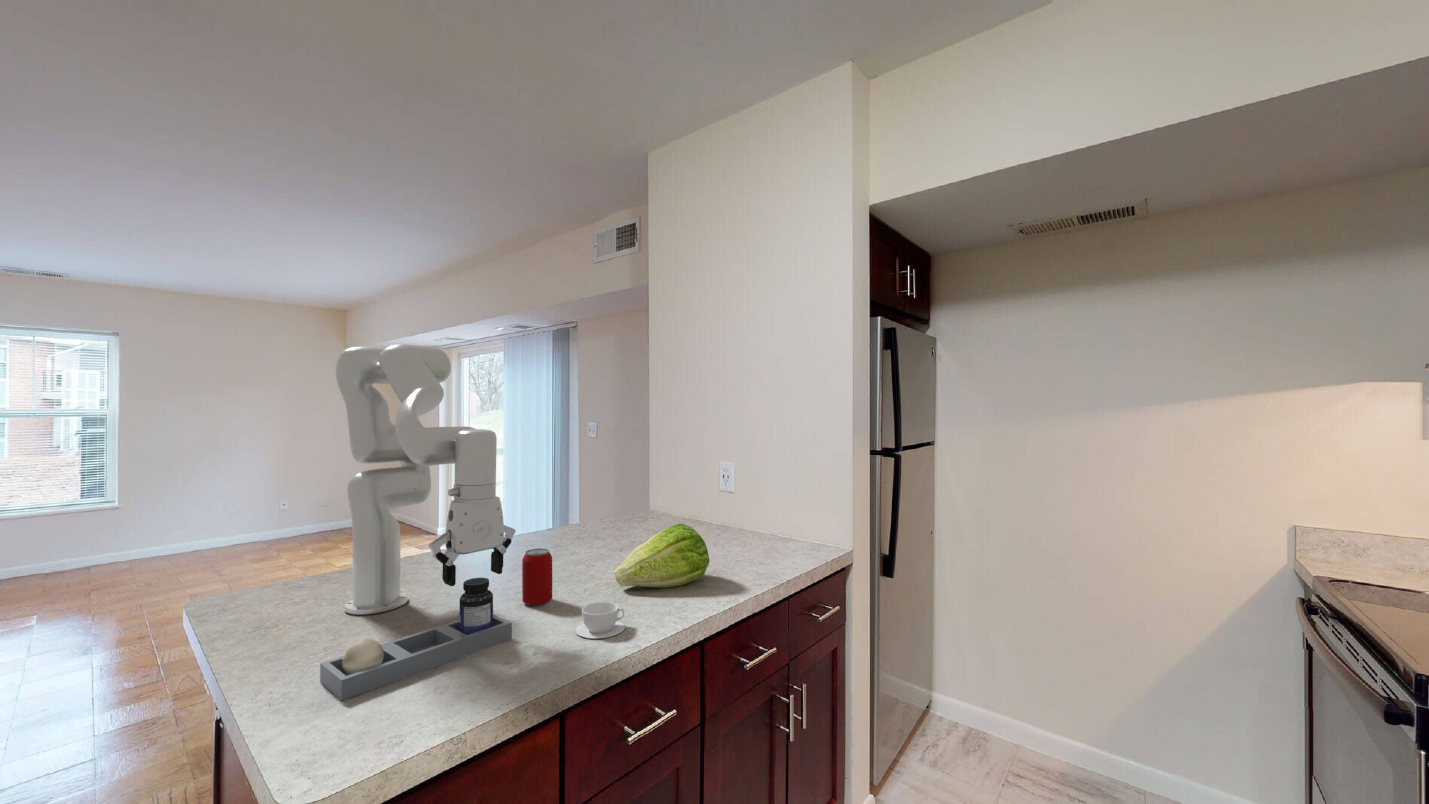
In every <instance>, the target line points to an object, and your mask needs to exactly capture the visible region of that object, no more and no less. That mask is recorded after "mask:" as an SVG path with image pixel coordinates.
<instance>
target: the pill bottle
mask: <svg viewBox="0 0 1429 804" xmlns="http://www.w3.org/2000/svg"><path fill="white" fill-rule="evenodd" d="M462 585H463V587H462V588H463V591H464V593H462V594H461V595H460V597H459V620H460V632H462V633H464V634H466V635H470V634H472V633H475V632H478V631H481V630H484V629H487V628H490V627H493V615H494V594H493V592H492V591H491V590H489V587H490V579H489V578H487V577H473V578H469V579H466V580H465V581H463V584H462Z"/></svg>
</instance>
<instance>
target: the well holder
mask: <svg viewBox="0 0 1429 804" xmlns="http://www.w3.org/2000/svg"><path fill="white" fill-rule="evenodd" d="M511 639H513V623H512V621H509V620H508V619H505V618H502V617H500V616H497V615H496V614H493V627H490V628H487V629H484V630H481V631H478V632H475V633H472V634H470V635H466V634H464V633H462V632H460V619H458V620H455V621H451V622H448V623H446V624H442V625H439V626H435V627H432V628H429V629H426V630H422V631H420V632H419V631H418V632H417V633H412V634H410V635H406V636H404V637H400V638H396V639H394V640H390V641H388V642H384V643H381V644H380V643H379V644H380V645H381V646H382V648H383V651H384V658H383V662H382V664H380V665H377V666H374V667H372V668H369V669H366V670H363V671H360V672H357V673H354V674H351V675H347V674H346V673H345V671H344V669H343V667H342V659H343V656H344V655H342V656H339V657H336V658H332V659H330V660H326V661H323V662H320V663H319V664H320V665H319V673H320V675H319V680H320V681H319V682H320V684H322V685H323V686H324V687H325V688H326V689H327V690H329V692H331V693H332V694H333V695H334V696H335V697H337V698H338V699H339V700H340V701H345V700H347V699H351V698H353V697H356V696H359V695H361V694H364V693H366V692H370V691H372V690H375V689H377V688H381V687H383V686H387V685H388V684H391V683H393V682H397V681H400V680H402V679H405V678H408V677H410V676H413V675H416V674H418V673H421V672H424V671H426V670H429V669H432V668H436V667H437V666H438V667H439V666H441V665H443V664H446V663H449V662H452V661H454V660H457V659H460V658H463V657H465V656H467V655H470V654H474V653H477V652H479V651H482V650H485V649H487V648H491V647H493V646H495V645H498V644H500V643H503V642H506V641H509V640H511Z"/></svg>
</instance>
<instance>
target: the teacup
mask: <svg viewBox="0 0 1429 804" xmlns="http://www.w3.org/2000/svg"><path fill="white" fill-rule="evenodd" d="M620 612H621V614H620V616H618V615H619V613H620ZM581 613H582V619H583V623H581V624H580V625H578V626H577V627H576V629H575V633H576V634H577V635H578V636H579V637H583V638H585V639H595V640H596V639H606V638H610V637H614V636H617V635H619V634H620V633H622V632H623V631H624V630H625V629H626V624H624V622H622V621H620V620H621V619H624V617H625V609H624V608H622V607H620V606H619V605H618V604H616V603H615V602H610V601H598V602H591V603H590V604H586V605H584V606H583V607H582V609H581Z"/></svg>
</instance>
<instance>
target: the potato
mask: <svg viewBox="0 0 1429 804" xmlns="http://www.w3.org/2000/svg"><path fill="white" fill-rule="evenodd" d="M342 656H343V659H342V667H343V669H344V671H345V673H346V674H347V675H351V674H354V673H357V672H360V671H363V670H366V669H369V668H372V667H374V666H377V665H380V664H382V662H383V658H384V651H383V648H382V646H381V645H380V643H379V642H378V641H377V640H374V639H369V638H364V639H360V640H358V641H356V642H354V643H352V644H351V645H350V646H348V648H346V651H345V652H344V653H343V655H342Z"/></svg>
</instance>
